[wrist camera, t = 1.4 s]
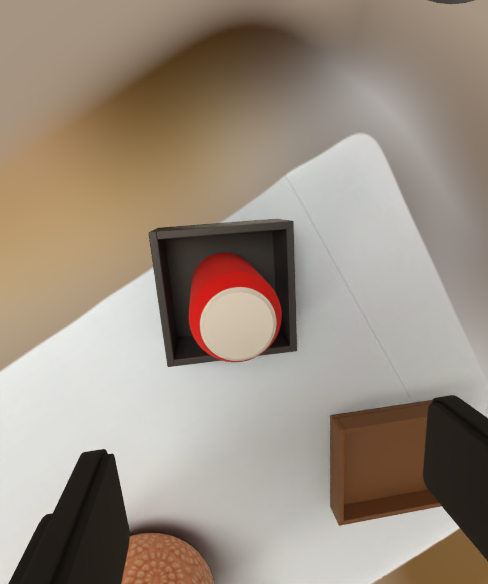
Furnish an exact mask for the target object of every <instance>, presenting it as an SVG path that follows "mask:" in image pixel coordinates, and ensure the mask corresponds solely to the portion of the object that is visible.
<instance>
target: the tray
mask: <svg viewBox="0 0 488 584" xmlns="http://www.w3.org/2000/svg"><path fill="white" fill-rule="evenodd" d="M431 403H432V400H431V401H424V402H417V403H411V404H404V405H397V406H391V407H384V408H377V409H371V410H364V411H357V412H351V413H344V414H337V415H331V416H330V507H331V509H332V511H333V513H334V516H335V518H336V520H337V522H338V525H339V526H340V525H343V524H344V525H345V524H350V523H356V522H361V521H366V520H371V519H377V518H382V517H387V516H392V515H398V514H403V513H408V512H413V511H419V510H424V509H429V508H434V507H440V506H441V504H440V503H439V502H438V501H437V500H436V498H435V497H434V496H433V495H432V494H431V492H430V491H429V490H428V489H427V487H426V485H425V483H424V480H423V465H424V452H425V440H426V427H427V414H428V406H429V405H430V404H431Z"/></svg>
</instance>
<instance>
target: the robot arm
mask: <svg viewBox="0 0 488 584" xmlns="http://www.w3.org/2000/svg"><path fill="white" fill-rule="evenodd" d="M423 480H424V483H425V485H426V487H427V489H428V490H429V491H430V492H431V494H432V495H433V496H434V497H435V498H436V500H437V501H438V502H439V503H440V504H441V506H442V507H443V508H444V509H445V510H446V512H447V513H448V514H449V515H450V516H451V518H452V519H453V520H454V521H455V522H456V524H457V525H458V526H459V527H460V528H461V530H462V531H463V532H464V533H465V534H466V536H467V537H468V538H469V539H470V540H471V541H472V543H473V544H474V545H475V546H476V548H478V550H479V551H480V552H481V554H482V555H483V556H484V557H485V558H486V559H487V561H488V418H487V417H485V416H484V415H482V414H481V413H480V412H478V411H477V410H475V409H474V408H473V407H471V406H470V405H468V404H467V403H465V402H464V401H463V400H461V399H460V398H458V397H457V396H454V395H450V396H444V397H437V398H434V399H433V400H432V403H431V404H430V405H429V406H428V414H427V427H426V440H425V452H424V465H423ZM129 541H130V532H129V526H128V521H127V516H126V511H125V506H124V501H123V496H122V491H121V486H120V481H119V476H118V471H117V466H116V461H115V457H114V455H113V454H107V451H106V450H105V449H102V450H95V451H89V452H83V453H82V454H81V456H80V457H79V459H78V462H77V464H76V466H75V468H74V470H73V472H72V474H71V476H70V478H69V480H68V483H67V485H66V487H65V489H64V491H63V493H62V495H61V497H60V499H59V502H58V504H57V506H56V508H55V510H54V512H53V513H52V514H47V515H45V516H44V517H43V518H42V520H41V521H40V523H39V524H38V526H37V528H36V530H35V532H34V534H33V536H32V538H31V540H30V542H29V544H28V546H27V548H26V550H25V552H24V554H23V556H22V558H21V560H20V562H19V564H18V566H17V568H16V570H15V572H14V574H13V576H12V578H11V580H10V582H9V584H121V583H122V578H123V573H124V568H125V563H126V558H127V553H128V548H129Z"/></svg>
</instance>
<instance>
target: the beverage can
mask: <svg viewBox="0 0 488 584" xmlns="http://www.w3.org/2000/svg"><path fill="white" fill-rule="evenodd" d="M281 318H282V313H281V306H280V302H279V299H278V297H277V295H276V293H275V291H274V290H273V288H272V287H271V286H270V285H269V284H268V283H267V282H266V280H265V279H264V278H263V277H262V276H261V275H260V274H259V273H258V272H257V271H256V270H255V269H254V268H253V267H252V266H251V264H250V263H249V262H248V261H247V260H245V259H244V258H243V257H241V256H239V255H237V254H233V253H228V252H221V253H216V254H213V255H211V256H209V257H207V258H205V259H204V260H203V261H202V262H201V263H200V264H199V265H198V266H197V268H196V269H195V271H194V274H193V277H192V282H191V294H190V306H189V324H190V329H191V332H192V334H193V337H194V338H195V340H196V342H197V343H198V345H199V346H200V347H201V348H202V349H203V350H204V351H205V352H206V353H208V354H209V355H211V356H213V357H215V358H217V359H219V360H222V361H227V362H242V361H247V360H250V359H253V358H255V357H257V356H259V355H260V354H262V353H263V352H264V351H266V350H267V349H268V348H269V347H270V346H271V344H272V343H273V342H274V340H275V338H276V337H277V334H278V332H279V329H280V325H281Z"/></svg>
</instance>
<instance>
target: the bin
mask: <svg viewBox="0 0 488 584" xmlns="http://www.w3.org/2000/svg"><path fill="white" fill-rule="evenodd" d="M149 239H150V246H151V254H152V261H153V268H154V275H155V282H156V289H157V296H158V303H159V310H160V317H161V324H162V331H163V338H164V345H165V352H166V359H167V366H168V367H172V366H180V365H188V364H196V363H204V362H212V361H220V360H219V359H217V358H215V357H213V356H211V355H209V354H208V353H206V352H205V351H204V350H203V349H202V348H201V347H200V346H199V345H198V343H197V342H196V340H195V338H194V337H193V334H192V332H191V329H190V324H189V306H190V294H191V282H192V277H193V274H194V271H195V269H196V268H197V266H198V265H199V264H200V263H201V262H202V261H203V260H204V259H205V258H207V257H209V256H211V255H213V254H216V253H221V252H228V253H233V254H237V255H239V256H241V257H243V258H244V259H245V260H247V261H248V262H249V263H250V264H251V266H252V267H253V268H254V269H255V270H256V271H257V272H258V273H259V274H260V275H261V276H262V277H263V278H264V279H265V280H266V282H267V283H268V284H269V285H270V286H271V287H272V288H273V290H274V291H275V293H276V295H277V297H278V299H279V302H280V306H281V313H282V318H281V325H280V329H279V332H278V334H277V337H276V338H275V340H274V342H273V343H272V344H271V346H270V347H269V348H268V349H267V350H266V351H264V352H263V353H262V354H260V355H268V354H276V353H284V352H293V351H297V334H296V299H295V264H294V230H293V221H289V220H281V219H268V220H255V221H242V222H229V223H216V224H203V225H190V226H177V227H164V228H157V229H155V230H153V231H151V232H149ZM260 355H259V356H260Z"/></svg>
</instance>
